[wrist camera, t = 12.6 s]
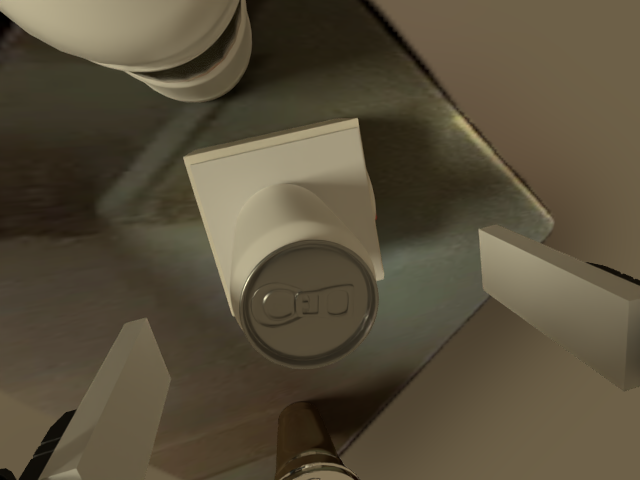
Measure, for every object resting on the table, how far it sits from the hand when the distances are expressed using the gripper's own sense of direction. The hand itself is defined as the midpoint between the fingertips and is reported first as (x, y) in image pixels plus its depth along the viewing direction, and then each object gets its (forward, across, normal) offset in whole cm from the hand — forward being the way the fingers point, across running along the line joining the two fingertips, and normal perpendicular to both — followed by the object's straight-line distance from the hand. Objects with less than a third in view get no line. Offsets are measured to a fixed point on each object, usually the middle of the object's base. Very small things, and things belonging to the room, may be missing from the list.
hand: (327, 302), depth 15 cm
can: (+13, 0, 0) cm, 13 cm away
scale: (+21, 0, -1) cm, 21 cm away
